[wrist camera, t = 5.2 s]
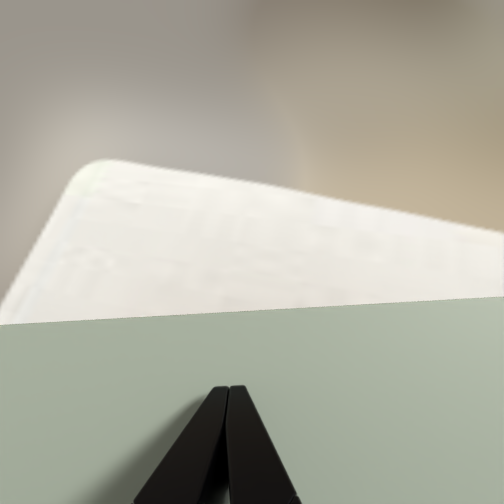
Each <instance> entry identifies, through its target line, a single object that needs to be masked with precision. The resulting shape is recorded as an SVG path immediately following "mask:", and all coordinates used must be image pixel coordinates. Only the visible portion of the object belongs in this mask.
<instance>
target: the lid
mask: <svg viewBox="0 0 504 504" xmlns="http://www.w3.org/2000/svg"><path fill="white" fill-rule="evenodd" d="M232 385H245V386H246V388H247V390H248V392H249V394H250V396H251V398H252V400H253V402H254V404H255V406H256V409H257V411H258V413H259V415H260V417H261V419H262V421H263V423H264V425H265V427H266V429H267V431H268V434H269V436H270V438H271V440H272V442H273V444H274V446H275V448H276V450H277V452H278V454H279V457H280V459H281V461H282V463H283V465H284V467H285V469H286V471H287V473H288V475H289V477H290V479H291V482H292V484H293V486H294V488H295V490H296V492H297V496H299V498H300V500H301V502H302V504H504V297H488V298H471V299H453V300H435V301H417V302H400V303H382V304H364V305H347V306H329V307H311V308H294V309H276V310H258V311H240V312H223V313H205V314H187V315H170V316H152V317H134V318H117V319H99V320H81V321H63V322H46V323H28V324H10V325H0V504H131V503H133V500H134V498H135V497H136V495H137V494H138V492H139V491H140V490H141V488H142V487H143V485H144V484H145V483H146V481H147V480H148V478H149V477H150V476H151V474H152V473H153V471H154V470H155V468H156V467H157V466H158V464H159V463H160V461H161V460H162V459H163V457H164V456H165V454H166V453H167V451H168V450H169V449H170V447H171V446H172V444H173V443H174V442H175V440H176V439H177V437H178V436H179V435H180V433H181V432H182V430H183V429H184V427H185V426H186V425H187V423H188V422H189V420H190V419H191V418H192V416H193V415H194V413H195V412H196V411H197V409H198V408H199V406H200V405H201V403H202V402H203V401H204V399H205V398H206V396H207V395H208V394H209V392H210V391H211V389H212V388H213V387H215V386H228V387H229V388H230V386H232ZM133 504H134V503H133ZM228 504H230V497H229V500H228Z"/></svg>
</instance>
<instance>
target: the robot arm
mask: <svg viewBox="0 0 504 504" xmlns="http://www.w3.org/2000/svg"><path fill="white" fill-rule="evenodd" d="M229 497H230V504H302V502H301V500H300V498H299V496H297V492H296V490H295V488H294V486H293V484H292V482H291V479H290V477H289V475H288V473H287V471H286V469H285V467H284V465H283V463H282V461H281V459H280V457H279V454H278V452H277V450H276V448H275V446H274V444H273V442H272V440H271V438H270V436H269V434H268V431H267V429H266V427H265V425H264V423H263V421H262V419H261V417H260V415H259V413H258V411H257V409H256V406H255V404H254V402H253V400H252V398H251V396H250V394H249V392H248V390H247V388H246V386H245V385H232V386H230V388H229V387H228V386H215V387H213V388H212V389H211V391H210V392H209V394H208V395H207V396H206V398H205V399H204V401H203V402H202V403H201V405H200V406H199V408H198V409H197V411H196V412H195V413H194V415H193V416H192V418H191V419H190V420H189V422H188V423H187V425H186V426H185V427H184V429H183V430H182V432H181V433H180V435H179V436H178V437H177V439H176V440H175V442H174V443H173V444H172V446H171V447H170V449H169V450H168V451H167V453H166V454H165V456H164V457H163V459H162V460H161V461H160V463H159V464H158V466H157V467H156V468H155V470H154V471H153V473H152V474H151V476H150V477H149V478H148V480H147V481H146V483H145V484H144V485H143V487H142V488H141V490H140V491H139V492H138V494H137V495H136V497H135V498H134V500H133V503H134V504H228V500H229ZM133 503H131V504H133Z"/></svg>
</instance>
